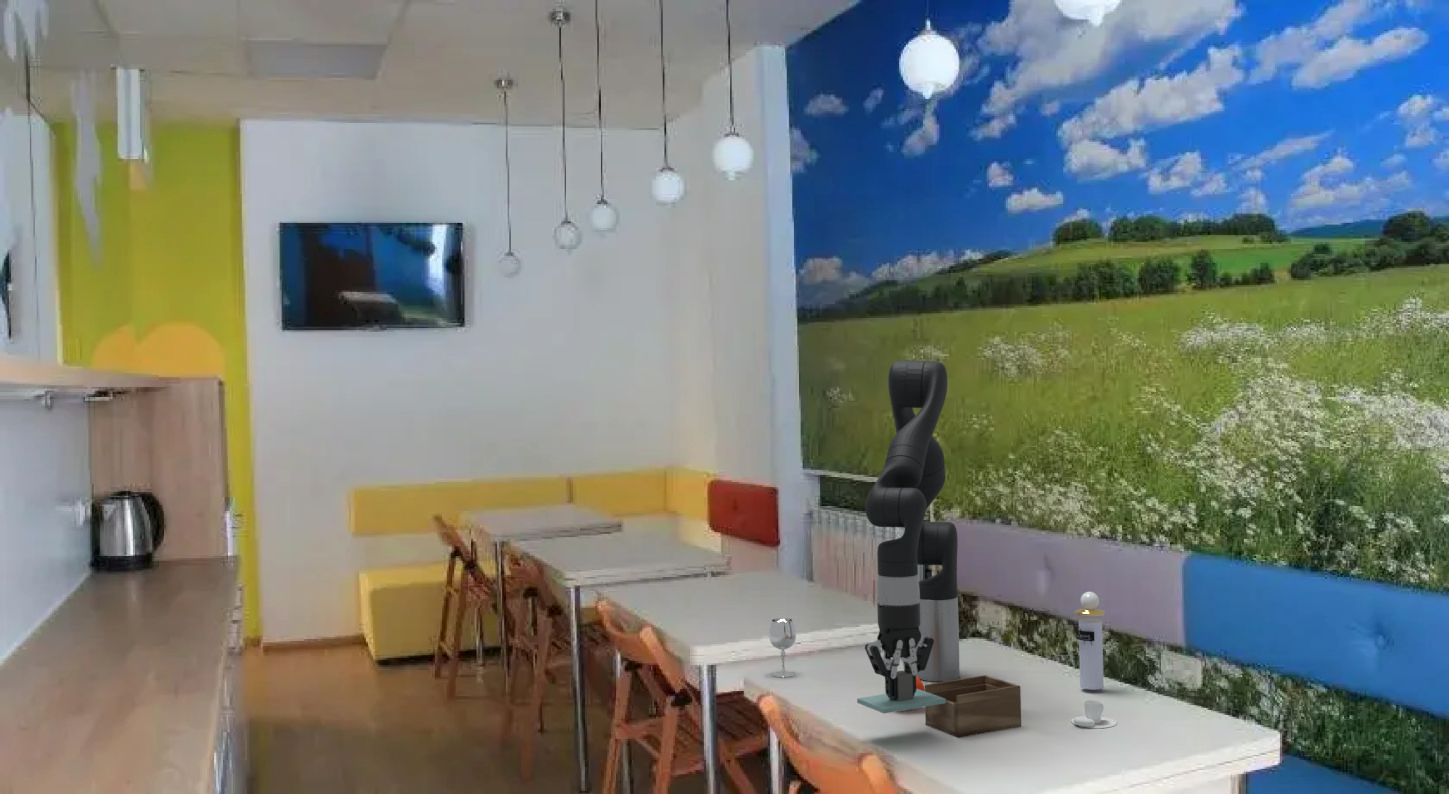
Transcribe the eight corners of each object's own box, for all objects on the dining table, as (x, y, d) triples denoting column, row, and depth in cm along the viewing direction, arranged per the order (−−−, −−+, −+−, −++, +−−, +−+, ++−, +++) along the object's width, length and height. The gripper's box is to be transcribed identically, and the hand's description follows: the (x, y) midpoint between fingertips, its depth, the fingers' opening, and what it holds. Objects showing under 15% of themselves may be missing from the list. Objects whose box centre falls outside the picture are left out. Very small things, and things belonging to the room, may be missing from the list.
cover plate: (857, 703, 219) (856, 673, 219) (917, 693, 224) (916, 664, 224) (884, 713, 211) (883, 682, 211) (945, 703, 217) (944, 673, 217)
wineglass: (779, 670, 273) (778, 617, 273) (801, 673, 269) (800, 619, 269) (765, 676, 268) (763, 621, 268) (787, 679, 265) (786, 623, 265)
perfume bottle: (1087, 685, 252) (1085, 588, 252) (1112, 690, 248) (1110, 591, 248) (1071, 690, 248) (1068, 592, 248) (1096, 695, 244) (1094, 595, 244)
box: (925, 724, 226) (924, 684, 226) (986, 714, 232) (985, 675, 232) (959, 738, 217) (957, 696, 217) (1021, 726, 223) (1020, 685, 223)
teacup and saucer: (1082, 732, 220) (1082, 710, 220) (1059, 721, 227) (1058, 699, 227) (1125, 728, 222) (1125, 705, 222) (1100, 717, 230) (1100, 695, 230)
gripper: (918, 593, 224) (921, 687, 224) (853, 601, 218) (856, 698, 218) (943, 599, 217) (946, 696, 217) (877, 607, 211) (879, 707, 211)
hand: (900, 696), depth 218 cm, fingers closed on cover plate, 3 cm apart
